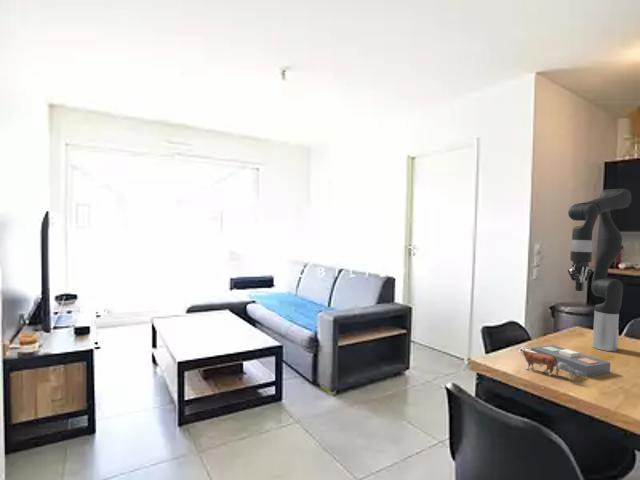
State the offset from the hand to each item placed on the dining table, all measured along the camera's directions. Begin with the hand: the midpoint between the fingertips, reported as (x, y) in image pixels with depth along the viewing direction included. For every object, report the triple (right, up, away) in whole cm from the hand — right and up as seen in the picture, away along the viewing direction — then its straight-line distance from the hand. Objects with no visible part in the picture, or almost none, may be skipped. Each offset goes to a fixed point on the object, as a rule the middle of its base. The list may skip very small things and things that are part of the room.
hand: (579, 290), depth 161 cm
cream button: (-10, -27, -8) cm, 30 cm away
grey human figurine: (-20, -29, -23) cm, 42 cm away
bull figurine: (-28, -29, -17) cm, 44 cm away
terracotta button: (-7, -28, -15) cm, 33 cm away
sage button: (-13, -27, -1) cm, 30 cm away
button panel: (-10, -29, -8) cm, 32 cm away
